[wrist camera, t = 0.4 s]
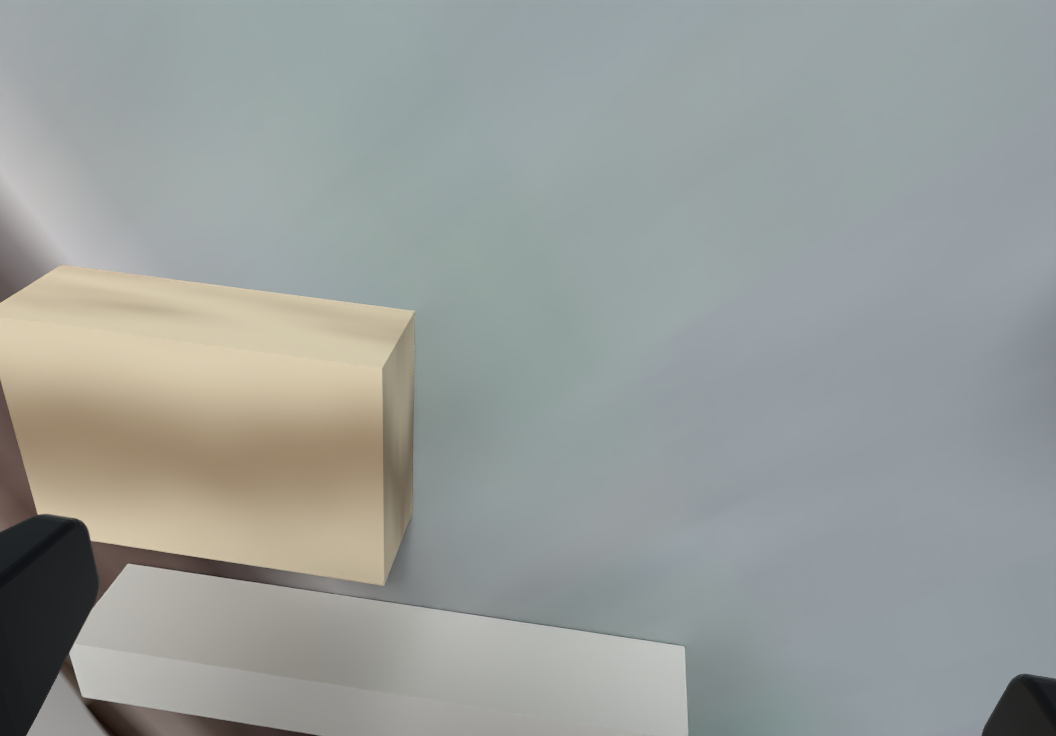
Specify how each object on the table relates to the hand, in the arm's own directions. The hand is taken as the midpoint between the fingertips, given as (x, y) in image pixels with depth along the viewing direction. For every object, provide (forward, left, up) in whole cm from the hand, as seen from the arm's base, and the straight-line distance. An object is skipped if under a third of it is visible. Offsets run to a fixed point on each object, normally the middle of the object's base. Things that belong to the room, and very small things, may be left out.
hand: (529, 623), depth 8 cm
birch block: (-7, +10, -14) cm, 19 cm away
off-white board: (-16, +5, -14) cm, 22 cm away
